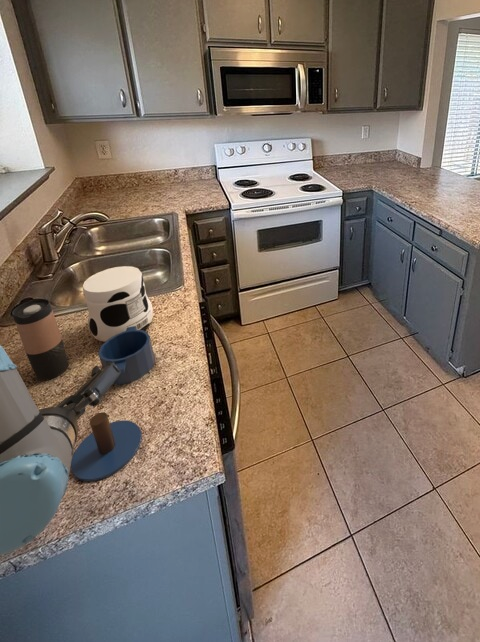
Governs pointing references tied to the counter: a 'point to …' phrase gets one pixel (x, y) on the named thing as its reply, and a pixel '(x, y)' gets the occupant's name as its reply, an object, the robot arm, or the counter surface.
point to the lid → (105, 448)
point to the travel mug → (41, 338)
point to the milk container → (116, 302)
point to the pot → (128, 354)
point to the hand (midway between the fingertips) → (60, 401)
